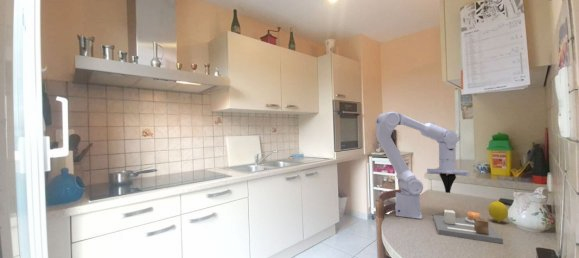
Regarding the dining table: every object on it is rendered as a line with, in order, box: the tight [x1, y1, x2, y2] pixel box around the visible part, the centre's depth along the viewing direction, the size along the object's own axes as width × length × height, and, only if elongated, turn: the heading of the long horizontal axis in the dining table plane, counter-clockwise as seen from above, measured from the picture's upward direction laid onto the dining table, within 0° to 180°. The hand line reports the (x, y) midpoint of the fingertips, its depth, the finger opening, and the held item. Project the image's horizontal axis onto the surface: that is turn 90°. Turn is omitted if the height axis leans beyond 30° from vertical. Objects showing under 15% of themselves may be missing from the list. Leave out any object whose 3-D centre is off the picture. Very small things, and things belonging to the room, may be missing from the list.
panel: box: [432, 214, 504, 244], centre depth 85 cm, size 17×16×2 cm
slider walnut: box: [474, 217, 489, 235], centre depth 79 cm, size 3×3×4 cm
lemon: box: [488, 200, 509, 223], centre depth 92 cm, size 6×6×8 cm
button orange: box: [466, 210, 481, 220], centre depth 88 cm, size 4×4×2 cm
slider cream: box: [443, 209, 456, 225], centre depth 87 cm, size 3×3×4 cm
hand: (447, 192), depth 100 cm, fingers closed
